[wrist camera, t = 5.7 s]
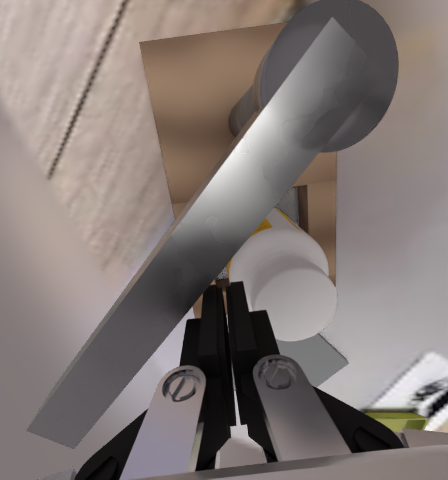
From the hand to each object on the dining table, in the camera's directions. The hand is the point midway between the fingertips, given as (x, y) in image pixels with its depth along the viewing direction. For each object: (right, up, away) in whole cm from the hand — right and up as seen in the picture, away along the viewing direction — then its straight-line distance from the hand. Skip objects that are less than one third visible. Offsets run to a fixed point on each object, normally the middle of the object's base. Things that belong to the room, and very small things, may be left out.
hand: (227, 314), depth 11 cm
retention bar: (-2, +3, -1) cm, 3 cm away
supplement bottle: (+3, +4, +16) cm, 16 cm away
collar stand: (+2, +8, +14) cm, 16 cm away
